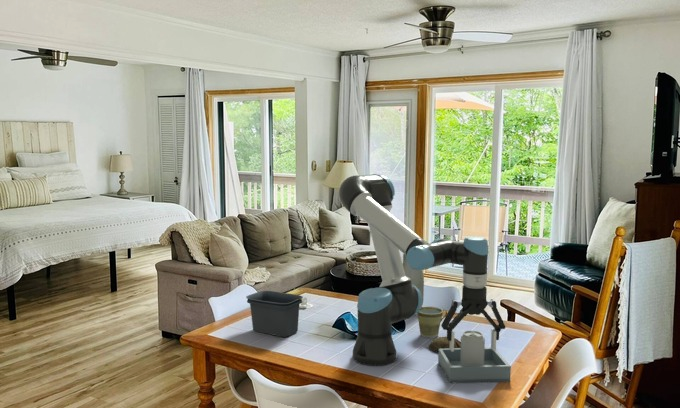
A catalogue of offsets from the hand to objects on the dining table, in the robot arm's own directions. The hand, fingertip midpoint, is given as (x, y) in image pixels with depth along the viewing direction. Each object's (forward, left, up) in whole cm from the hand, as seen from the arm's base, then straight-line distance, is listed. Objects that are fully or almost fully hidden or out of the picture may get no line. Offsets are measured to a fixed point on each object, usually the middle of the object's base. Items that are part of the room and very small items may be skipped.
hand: (472, 349), depth 179 cm
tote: (0, 0, -7) cm, 7 cm away
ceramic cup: (-5, +36, -8) cm, 37 cm away
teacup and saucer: (-59, +77, -8) cm, 97 cm away
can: (0, 0, -7) cm, 7 cm away
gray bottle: (-8, +66, -8) cm, 67 cm away
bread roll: (-3, +20, -8) cm, 22 cm away
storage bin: (-66, +44, -8) cm, 80 cm away
